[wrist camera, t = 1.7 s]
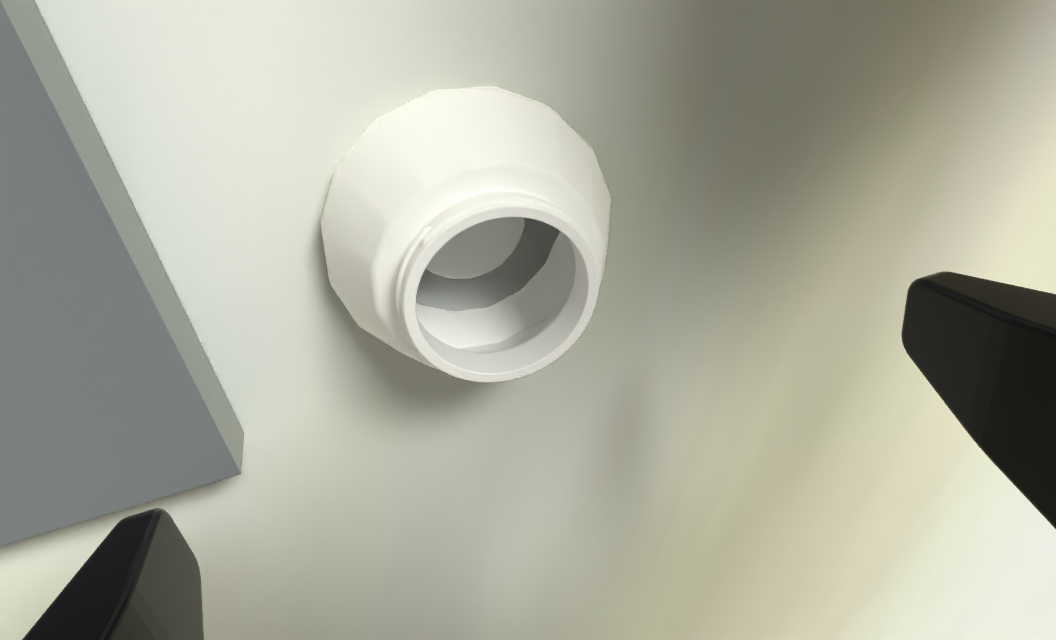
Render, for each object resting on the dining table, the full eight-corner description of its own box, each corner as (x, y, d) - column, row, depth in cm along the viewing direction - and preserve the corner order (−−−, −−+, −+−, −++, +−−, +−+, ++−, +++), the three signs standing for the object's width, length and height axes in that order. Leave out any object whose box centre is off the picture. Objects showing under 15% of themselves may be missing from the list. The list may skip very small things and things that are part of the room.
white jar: (645, 201, 15) (455, 14, 12) (718, 271, 12) (501, 55, 9) (471, 380, 16) (260, 244, 13) (507, 476, 13) (256, 333, 10)
